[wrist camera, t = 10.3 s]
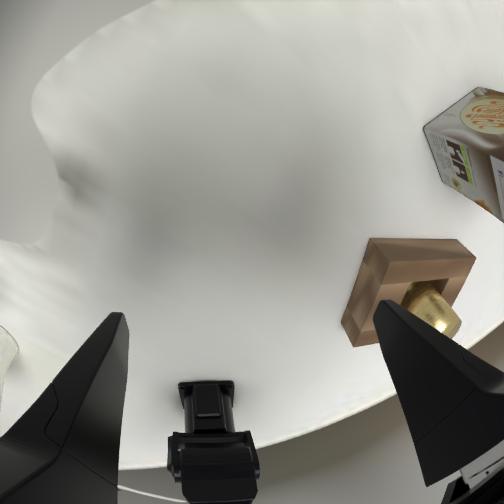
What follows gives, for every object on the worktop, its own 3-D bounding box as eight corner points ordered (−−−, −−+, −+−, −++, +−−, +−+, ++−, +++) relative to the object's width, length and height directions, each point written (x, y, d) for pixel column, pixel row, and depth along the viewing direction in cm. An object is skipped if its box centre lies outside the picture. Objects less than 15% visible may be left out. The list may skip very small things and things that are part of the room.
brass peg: (409, 293, 29) (447, 346, 22) (381, 296, 28) (419, 354, 21) (423, 263, 27) (467, 315, 20) (394, 265, 26) (440, 322, 19)
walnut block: (423, 309, 31) (437, 329, 28) (340, 322, 29) (353, 347, 26) (456, 239, 26) (476, 257, 23) (369, 238, 24) (390, 261, 21)
